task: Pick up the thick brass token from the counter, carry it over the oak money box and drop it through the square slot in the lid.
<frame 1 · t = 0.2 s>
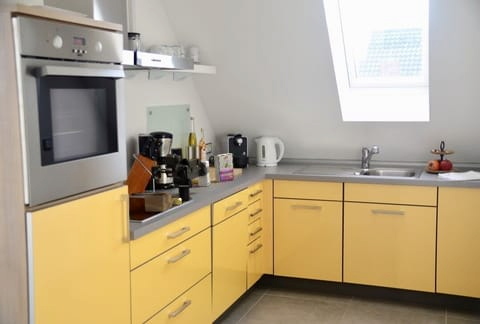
hand: (163, 175, 280), 16 cm above the countertop, tool horizontal, fingers open, 9 cm apart
token: (176, 204, 293), on the countertop
syrup box: (204, 185, 350), on the countertop
money box: (159, 209, 283), on the countertop
candy bar box: (224, 181, 365), on the countertop
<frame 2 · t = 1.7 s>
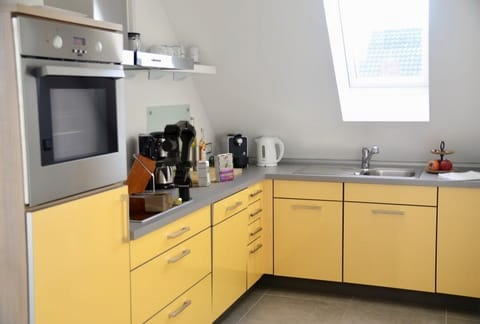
hand: (175, 181, 292), 11 cm above the countertop, tool pointing down, fingers open, 9 cm apart
nothing on the countertop moved.
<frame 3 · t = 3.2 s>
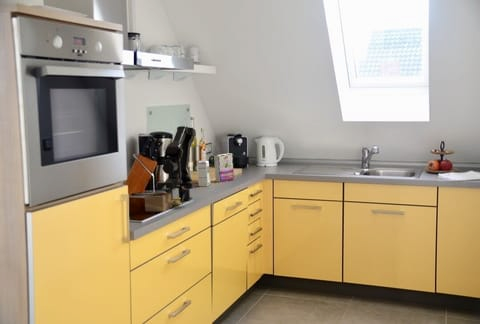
hand: (176, 202, 293), 1 cm above the countertop, tool pointing down, fingers closed on token, 5 cm apart
token: (176, 204, 293), on the countertop, touching gripper
everything else where it was.
when the fingers open (8 cm above the countertop, at t = 5.9 s): token drops 7 cm, resting on money box.
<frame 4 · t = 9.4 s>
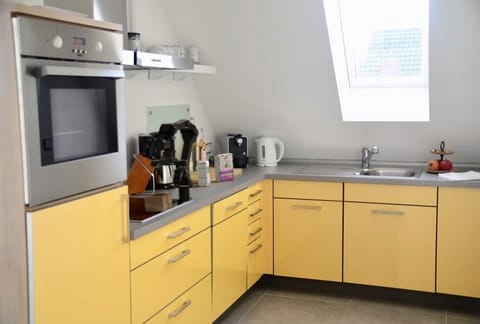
hand: (170, 180, 291), 12 cm above the countertop, tool pointing down, fingers open, 9 cm apart
token: (158, 208, 283), resting on money box
everything else where it was.
at the end: token inside the target area on the money box (0.1 cm from its centre), point 0.4 cm above the money box's base; the gripper is holding nothing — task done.
